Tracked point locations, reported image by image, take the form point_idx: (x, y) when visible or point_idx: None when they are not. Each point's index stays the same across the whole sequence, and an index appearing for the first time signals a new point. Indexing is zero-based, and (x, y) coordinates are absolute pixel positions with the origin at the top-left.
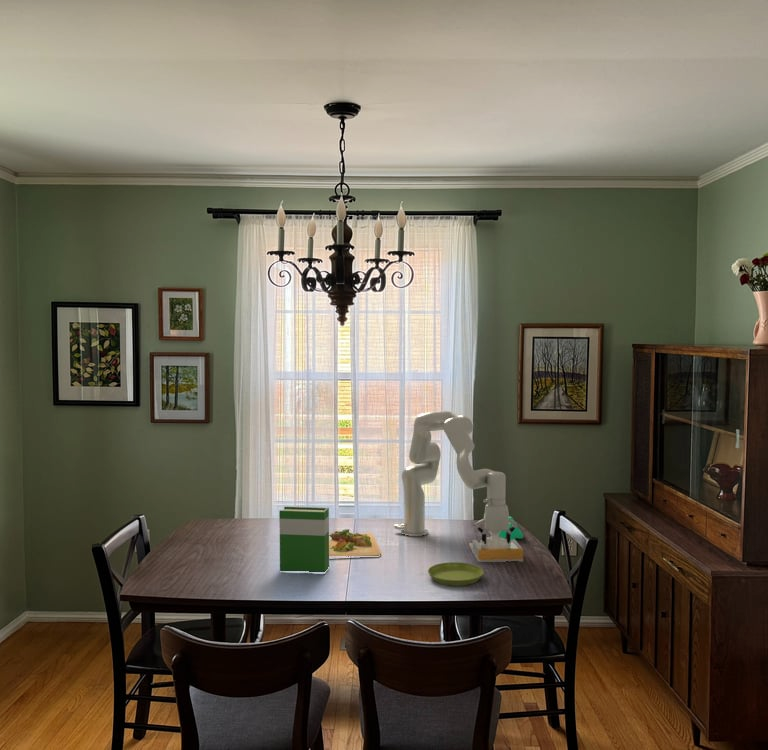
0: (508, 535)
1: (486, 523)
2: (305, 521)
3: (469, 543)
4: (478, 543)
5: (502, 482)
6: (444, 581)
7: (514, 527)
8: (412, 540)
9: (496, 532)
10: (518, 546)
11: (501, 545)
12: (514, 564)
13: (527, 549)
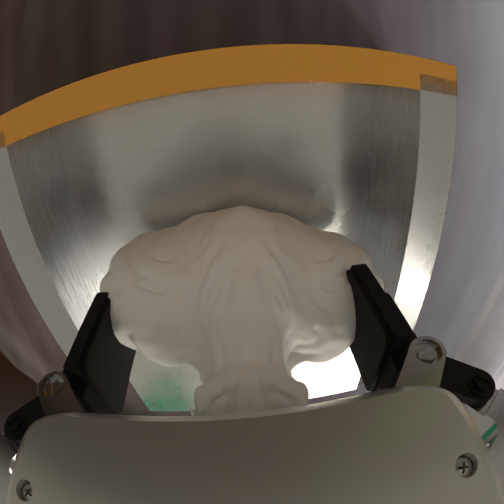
0: (74, 355)
1: (488, 476)
2: None
3: (356, 384)
4: (404, 280)
5: None
6: None
7: (9, 438)
8: (491, 368)
9: (231, 407)
10: (10, 213)
11: (175, 261)
12: (100, 21)
13: (57, 347)
